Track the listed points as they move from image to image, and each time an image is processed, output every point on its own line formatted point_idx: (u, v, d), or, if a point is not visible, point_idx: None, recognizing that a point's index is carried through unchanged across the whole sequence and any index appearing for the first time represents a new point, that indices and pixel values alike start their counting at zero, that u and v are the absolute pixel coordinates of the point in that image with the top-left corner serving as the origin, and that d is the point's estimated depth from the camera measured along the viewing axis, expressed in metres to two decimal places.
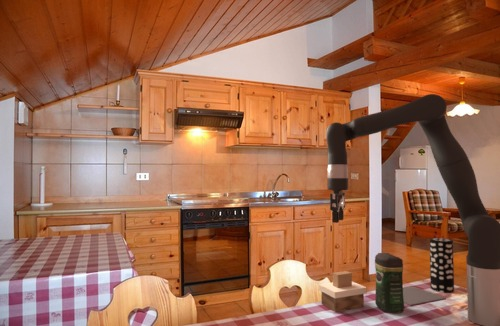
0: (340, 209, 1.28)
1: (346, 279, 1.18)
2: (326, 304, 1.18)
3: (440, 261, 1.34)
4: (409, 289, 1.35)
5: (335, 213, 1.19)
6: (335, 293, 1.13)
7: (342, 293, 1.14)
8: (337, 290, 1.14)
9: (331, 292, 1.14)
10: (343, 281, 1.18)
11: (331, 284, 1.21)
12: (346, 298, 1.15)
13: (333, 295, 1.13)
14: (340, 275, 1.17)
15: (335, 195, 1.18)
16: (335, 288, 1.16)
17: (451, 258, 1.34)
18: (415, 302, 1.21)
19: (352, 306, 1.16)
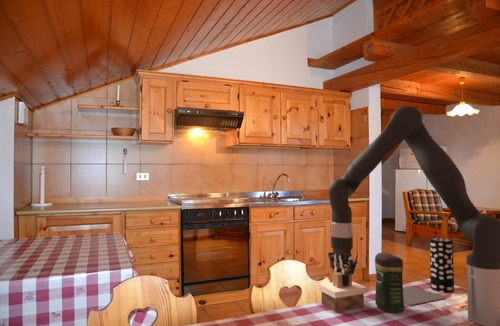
0: None
1: None
2: (326, 304, 1.18)
3: (440, 261, 1.34)
4: (409, 289, 1.35)
5: None
6: (335, 293, 1.13)
7: (342, 293, 1.14)
8: (337, 290, 1.14)
9: (331, 292, 1.14)
10: None
11: (331, 284, 1.21)
12: (346, 298, 1.15)
13: (333, 295, 1.13)
14: (340, 275, 1.17)
15: None
16: (335, 288, 1.16)
17: (451, 258, 1.34)
18: (415, 302, 1.21)
19: (352, 306, 1.16)
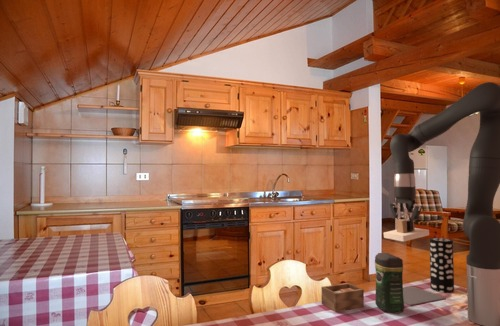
0: None
1: None
2: (326, 304, 1.18)
3: (440, 261, 1.34)
4: (409, 289, 1.35)
5: None
6: (403, 237, 1.23)
7: (409, 236, 1.24)
8: (404, 234, 1.24)
9: (399, 237, 1.24)
10: None
11: (395, 231, 1.31)
12: (346, 298, 1.15)
13: (401, 239, 1.23)
14: (404, 221, 1.27)
15: None
16: (401, 233, 1.26)
17: (451, 258, 1.34)
18: (415, 302, 1.21)
19: (352, 306, 1.16)
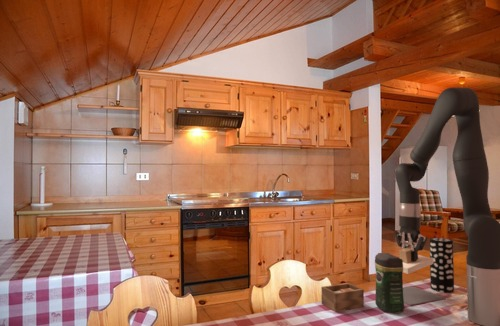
0: None
1: None
2: (326, 304, 1.18)
3: (440, 261, 1.34)
4: (409, 289, 1.35)
5: None
6: (407, 269, 1.23)
7: (413, 268, 1.24)
8: (408, 266, 1.24)
9: (403, 268, 1.24)
10: None
11: None
12: (346, 298, 1.15)
13: (406, 271, 1.23)
14: (407, 251, 1.27)
15: None
16: (405, 264, 1.27)
17: (451, 258, 1.34)
18: (415, 302, 1.21)
19: (352, 306, 1.16)
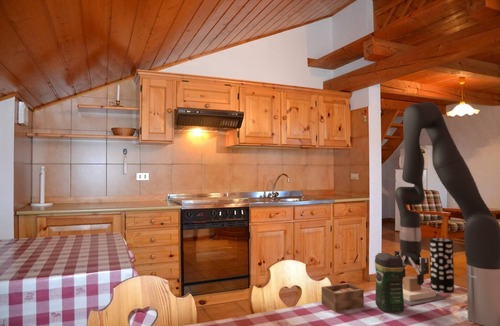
0: None
1: (416, 283, 1.28)
2: (326, 304, 1.18)
3: (440, 261, 1.34)
4: None
5: None
6: (409, 296, 1.22)
7: (415, 296, 1.23)
8: (410, 293, 1.24)
9: (405, 295, 1.24)
10: (414, 285, 1.28)
11: None
12: (346, 298, 1.15)
13: (407, 298, 1.23)
14: (411, 279, 1.27)
15: None
16: (407, 291, 1.26)
17: (451, 258, 1.34)
18: (415, 302, 1.21)
19: (352, 306, 1.16)
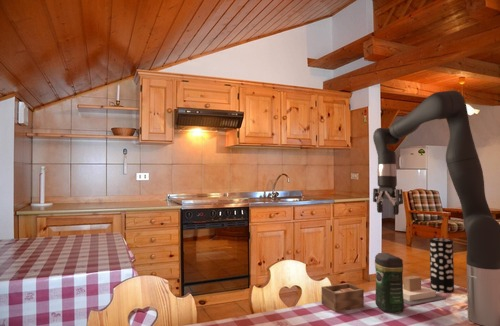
0: None
1: (416, 283, 1.28)
2: (326, 304, 1.18)
3: (440, 261, 1.34)
4: None
5: None
6: (409, 296, 1.22)
7: (415, 296, 1.23)
8: (410, 293, 1.24)
9: (405, 295, 1.24)
10: (414, 285, 1.28)
11: None
12: (346, 298, 1.15)
13: (407, 298, 1.23)
14: (411, 279, 1.27)
15: None
16: (407, 291, 1.26)
17: (451, 258, 1.34)
18: (415, 302, 1.21)
19: (352, 306, 1.16)
